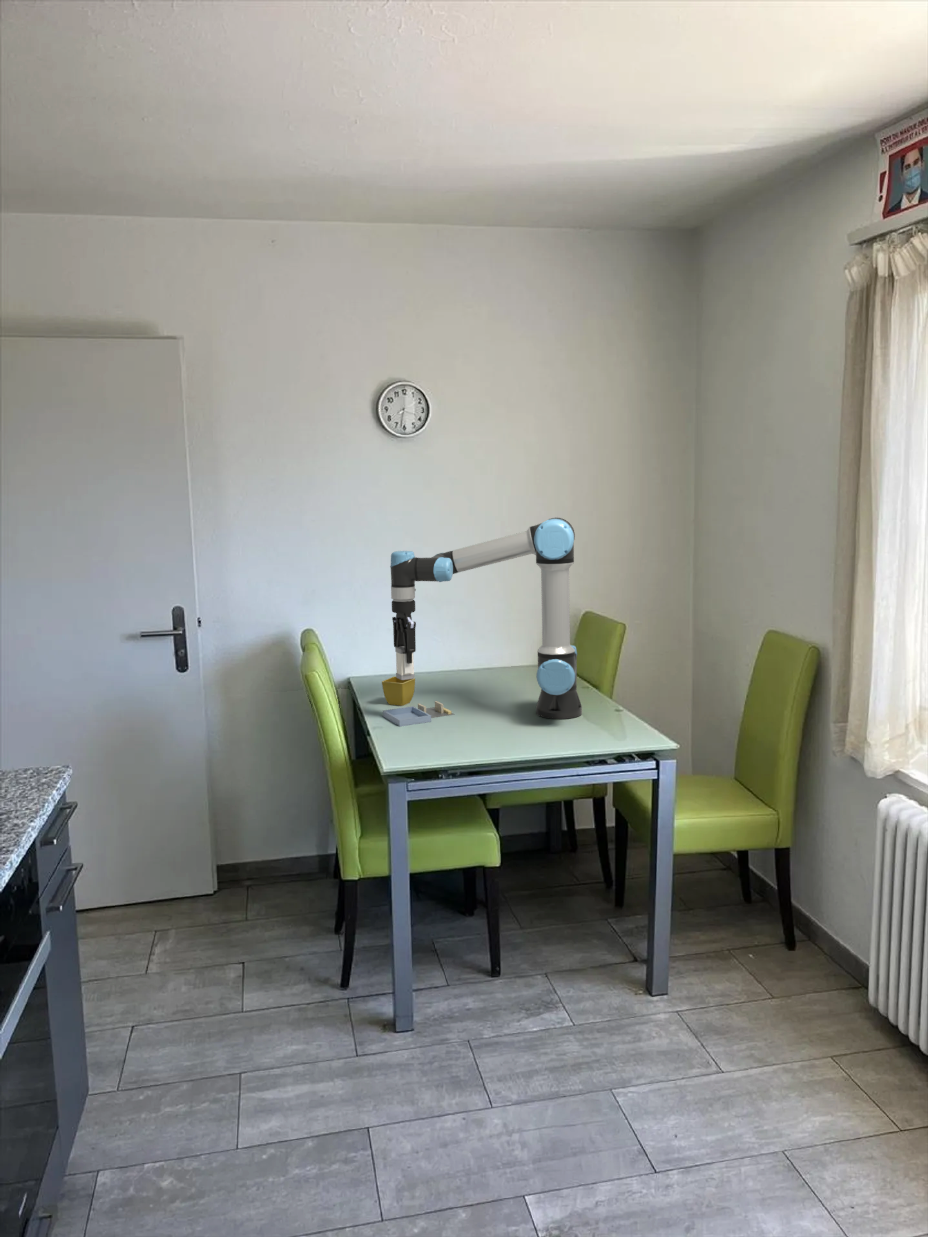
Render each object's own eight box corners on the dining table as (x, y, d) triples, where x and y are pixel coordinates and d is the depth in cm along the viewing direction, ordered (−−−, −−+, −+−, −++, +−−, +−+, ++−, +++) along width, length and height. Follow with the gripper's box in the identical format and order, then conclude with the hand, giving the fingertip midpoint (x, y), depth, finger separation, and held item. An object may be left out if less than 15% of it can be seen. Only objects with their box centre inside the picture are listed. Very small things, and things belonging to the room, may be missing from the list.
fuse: (414, 678, 292) (413, 647, 291) (401, 680, 290) (400, 649, 289) (408, 675, 296) (408, 645, 295) (396, 677, 294) (395, 647, 293)
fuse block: (454, 715, 300) (454, 705, 300) (427, 720, 296) (427, 709, 295) (439, 707, 311) (438, 697, 310) (412, 711, 306) (412, 701, 306)
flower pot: (381, 706, 314) (380, 681, 313) (395, 700, 322) (394, 675, 320) (403, 709, 310) (402, 683, 309) (416, 703, 318) (416, 678, 316)
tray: (431, 723, 292) (431, 715, 291) (399, 728, 287) (399, 720, 287) (413, 713, 304) (413, 706, 304) (382, 717, 299) (382, 710, 299)
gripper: (425, 602, 283) (427, 675, 287) (403, 595, 299) (404, 665, 302) (403, 604, 280) (405, 678, 284) (381, 597, 295) (383, 667, 299)
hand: (405, 671), depth 293 cm, fingers closed on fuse, 4 cm apart
